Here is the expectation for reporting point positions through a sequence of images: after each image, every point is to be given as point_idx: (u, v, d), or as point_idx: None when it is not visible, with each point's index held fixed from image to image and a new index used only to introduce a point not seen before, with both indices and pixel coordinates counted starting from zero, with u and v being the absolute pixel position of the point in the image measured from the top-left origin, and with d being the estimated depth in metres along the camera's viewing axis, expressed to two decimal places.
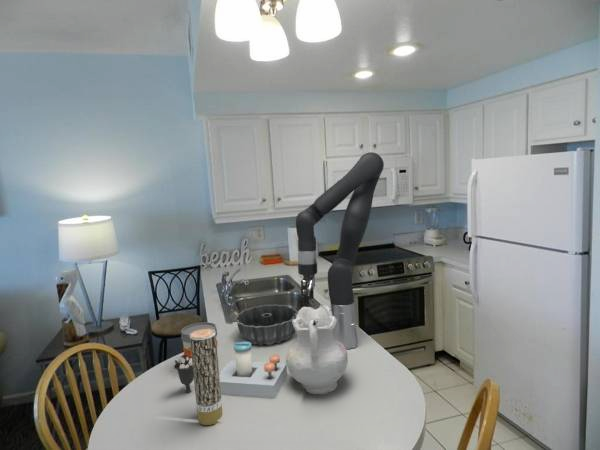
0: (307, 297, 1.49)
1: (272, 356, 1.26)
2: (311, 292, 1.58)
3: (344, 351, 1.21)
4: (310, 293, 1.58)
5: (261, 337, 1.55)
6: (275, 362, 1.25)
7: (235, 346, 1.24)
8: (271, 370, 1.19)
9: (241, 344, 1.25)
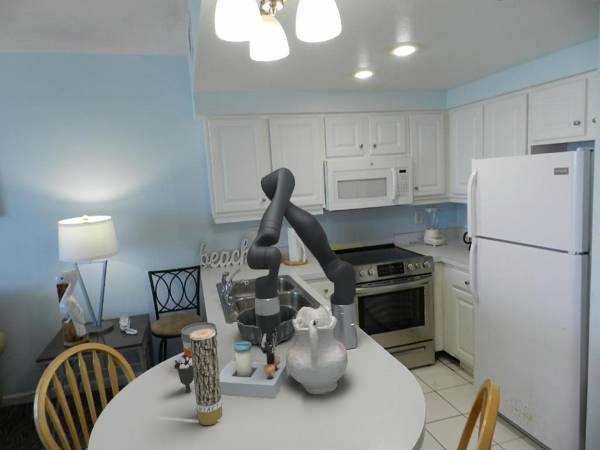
0: (271, 355, 1.22)
1: None
2: None
3: (344, 351, 1.21)
4: None
5: None
6: (275, 363, 1.25)
7: (235, 346, 1.24)
8: (271, 371, 1.19)
9: (241, 344, 1.25)
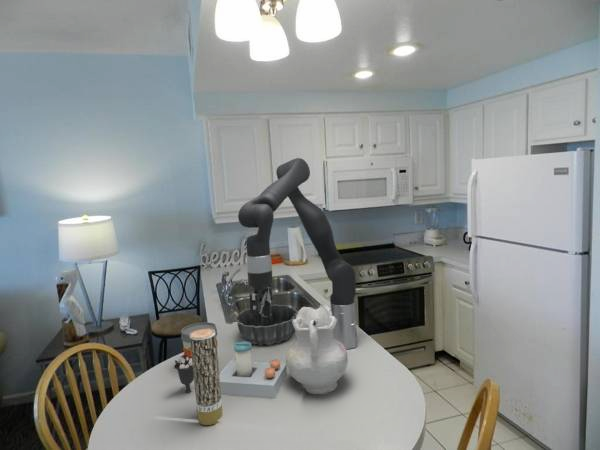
0: (259, 315, 1.17)
1: (272, 361, 1.27)
2: (267, 308, 1.25)
3: (344, 351, 1.21)
4: (266, 309, 1.26)
5: (261, 337, 1.55)
6: (275, 367, 1.25)
7: (235, 346, 1.24)
8: (271, 375, 1.20)
9: (241, 344, 1.25)
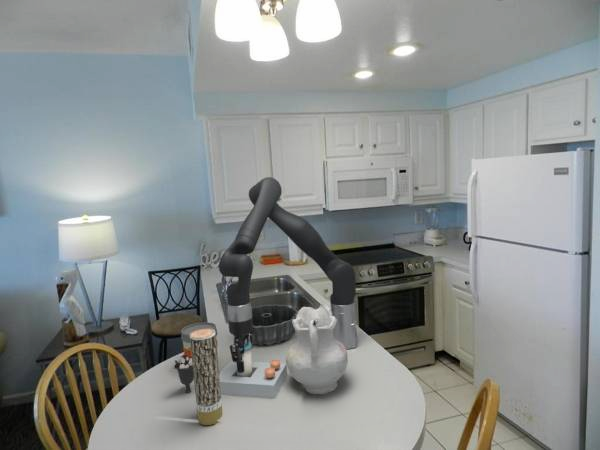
0: (241, 363, 1.22)
1: (272, 361, 1.27)
2: None
3: (344, 351, 1.21)
4: None
5: (261, 337, 1.55)
6: (275, 367, 1.25)
7: None
8: (271, 375, 1.20)
9: None
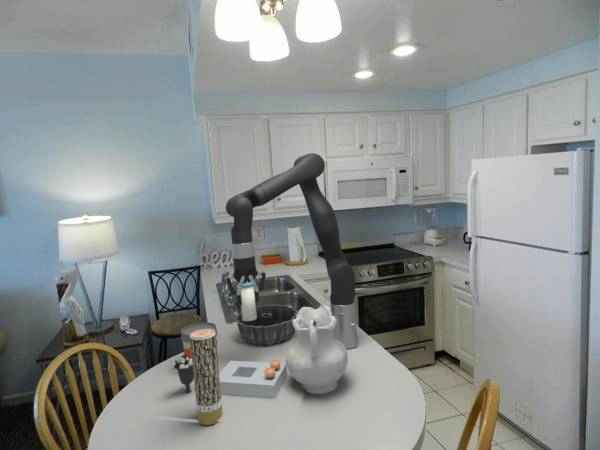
0: (237, 296, 1.34)
1: (272, 361, 1.27)
2: None
3: (344, 351, 1.21)
4: None
5: (261, 337, 1.55)
6: (275, 367, 1.25)
7: None
8: (271, 375, 1.20)
9: None
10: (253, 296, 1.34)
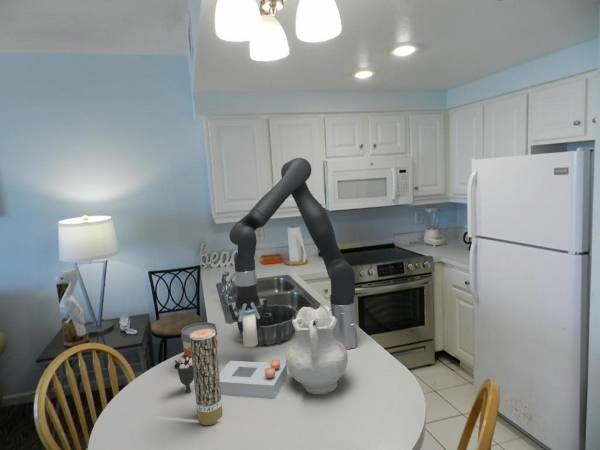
0: (239, 322, 1.36)
1: (272, 361, 1.27)
2: (256, 321, 1.38)
3: (344, 351, 1.21)
4: (256, 322, 1.39)
5: (261, 337, 1.55)
6: (275, 367, 1.25)
7: None
8: (271, 375, 1.20)
9: None
10: (254, 323, 1.37)
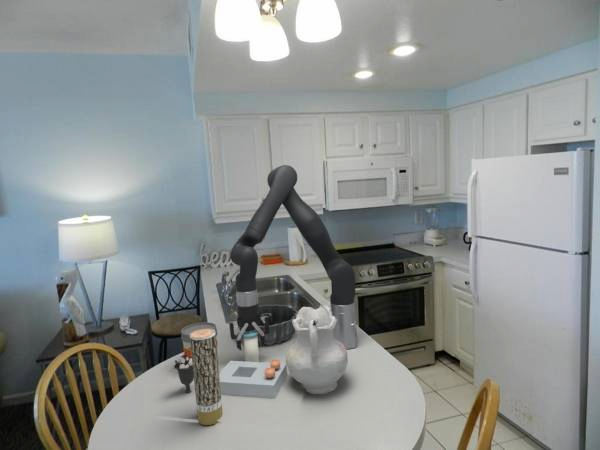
0: (237, 341, 1.37)
1: (272, 361, 1.27)
2: (260, 339, 1.39)
3: (344, 351, 1.21)
4: (260, 339, 1.40)
5: None
6: (275, 367, 1.25)
7: None
8: (271, 375, 1.20)
9: (248, 331, 1.38)
10: (256, 346, 1.38)
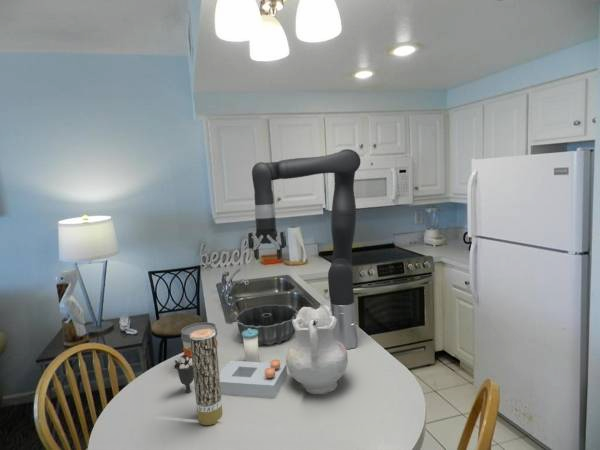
0: (254, 251, 1.48)
1: (272, 361, 1.27)
2: None
3: (344, 351, 1.21)
4: None
5: (261, 337, 1.55)
6: (275, 367, 1.25)
7: (245, 330, 1.40)
8: (271, 375, 1.20)
9: (248, 331, 1.38)
10: (256, 346, 1.38)
